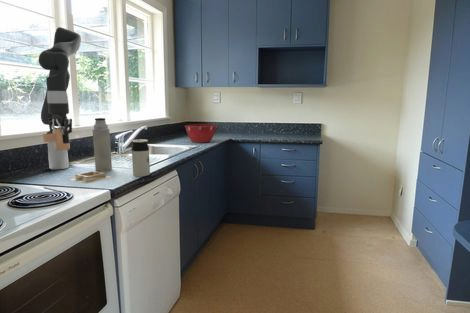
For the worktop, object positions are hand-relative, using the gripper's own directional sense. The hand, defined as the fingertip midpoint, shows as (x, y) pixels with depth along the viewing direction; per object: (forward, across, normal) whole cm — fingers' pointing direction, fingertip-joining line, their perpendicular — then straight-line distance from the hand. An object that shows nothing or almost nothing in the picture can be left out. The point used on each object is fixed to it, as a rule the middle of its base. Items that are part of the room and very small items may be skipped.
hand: (61, 142), depth 136 cm
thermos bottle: (+20, +12, -28) cm, 36 cm away
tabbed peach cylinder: (+3, 0, +2) cm, 4 cm away
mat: (+19, 0, 0) cm, 19 cm away
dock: (+19, +1, -13) cm, 23 cm away
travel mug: (+20, -13, -31) cm, 39 cm away
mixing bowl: (+20, +42, -151) cm, 158 cm away
